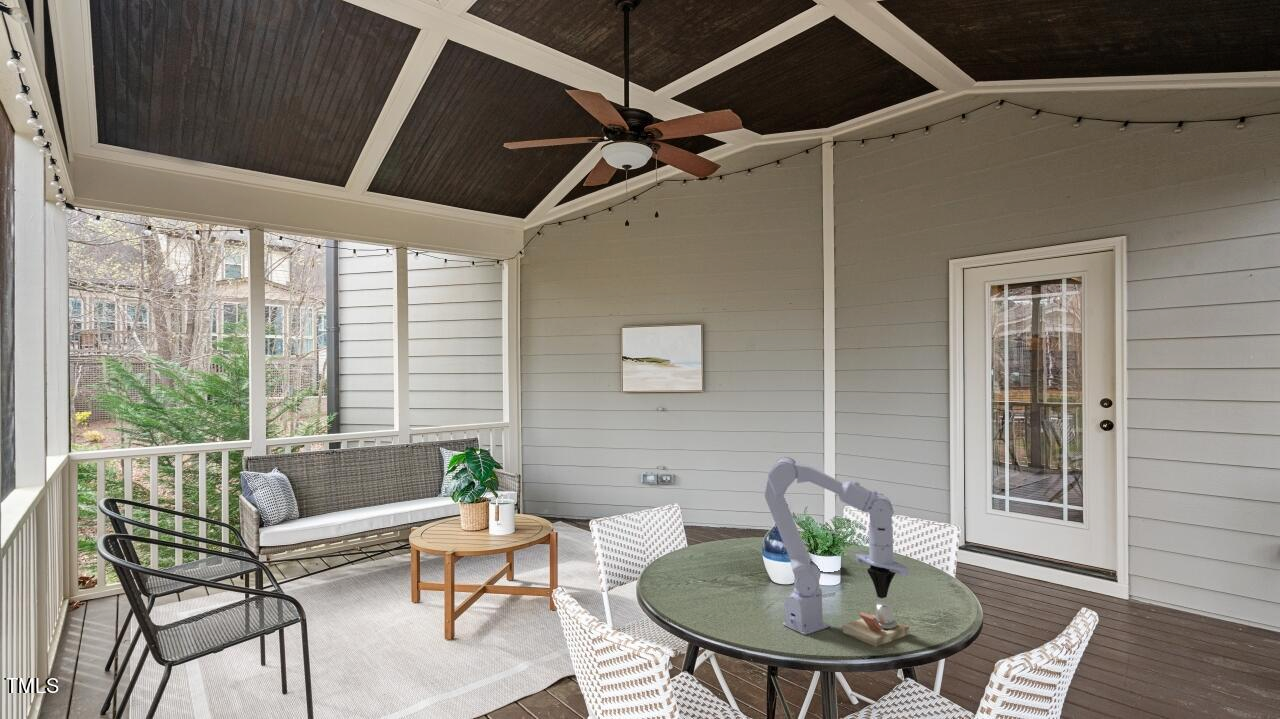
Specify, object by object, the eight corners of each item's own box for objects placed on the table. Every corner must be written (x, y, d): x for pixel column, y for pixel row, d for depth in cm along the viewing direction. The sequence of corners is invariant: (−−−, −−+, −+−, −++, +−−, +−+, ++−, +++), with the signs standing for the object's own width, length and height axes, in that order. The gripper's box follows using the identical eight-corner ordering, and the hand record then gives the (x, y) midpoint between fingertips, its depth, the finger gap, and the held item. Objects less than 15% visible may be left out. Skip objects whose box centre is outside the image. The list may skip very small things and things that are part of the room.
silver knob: (887, 638, 157) (886, 610, 157) (867, 630, 162) (867, 603, 162) (902, 633, 160) (901, 605, 160) (882, 625, 165) (881, 598, 165)
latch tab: (872, 619, 156) (874, 616, 156) (859, 614, 159) (861, 611, 160) (880, 630, 157) (882, 628, 158) (867, 625, 161) (868, 622, 161)
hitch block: (875, 646, 153) (875, 638, 153) (843, 632, 162) (842, 624, 162) (909, 634, 160) (909, 626, 160) (876, 621, 169) (876, 613, 169)
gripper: (916, 547, 157) (917, 602, 157) (867, 534, 170) (868, 585, 169) (898, 552, 154) (899, 608, 153) (849, 538, 166) (850, 591, 166)
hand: (882, 596), depth 161 cm, fingers closed
